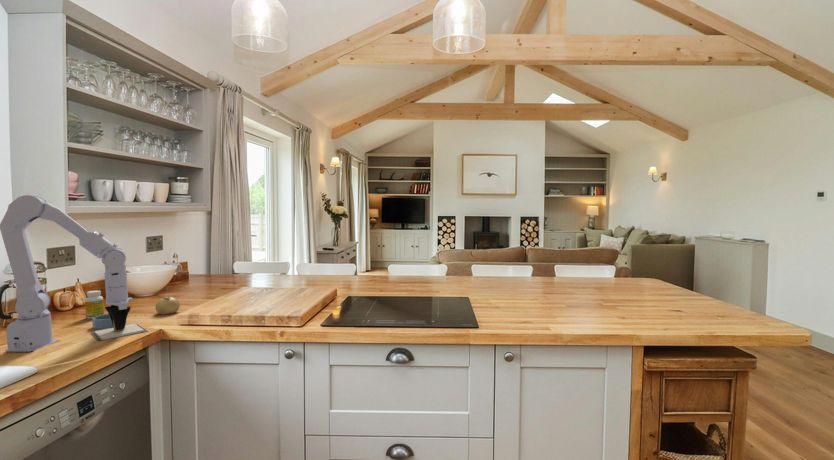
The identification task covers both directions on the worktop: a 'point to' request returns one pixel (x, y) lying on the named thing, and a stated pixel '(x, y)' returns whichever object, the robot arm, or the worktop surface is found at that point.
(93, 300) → the supplement bottle
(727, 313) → the worktop surface
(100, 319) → the bowl
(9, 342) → the robot arm
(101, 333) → the cover
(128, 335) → the mat
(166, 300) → the onion
